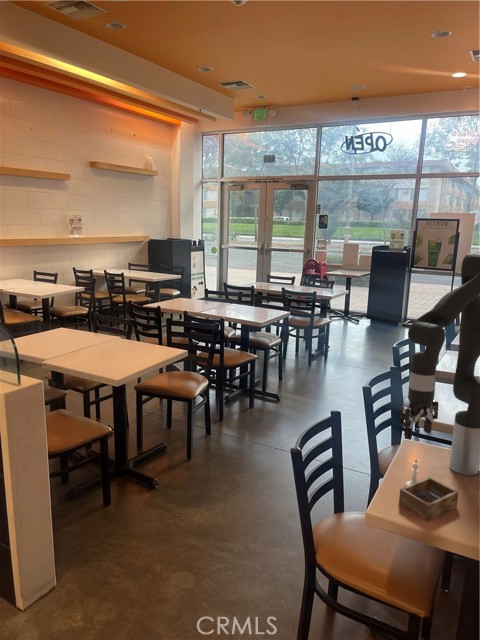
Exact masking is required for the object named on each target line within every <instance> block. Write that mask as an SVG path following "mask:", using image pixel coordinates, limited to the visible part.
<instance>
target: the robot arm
mask: <svg viewBox="0 0 480 640" xmlns="http://www.w3.org/2000/svg"><path fill="white" fill-rule="evenodd" d="M460 275H461V276H460V278H461V280H460V283H461V284H460V286H458V287H457V288H454V289H452V290H451V291H449V292H447V293H445V295H443V296H442V297H441V298H440V299H439V300H438V301H437V303H435V305H434V307H433V308H432V309H430V310H429V311H427V312H426V313H423V315H421V316H419V317H418V318H416V319H415V320H413V322H412V323H411V324H410V326H409V328H408V330H407V331H408V332H407V336H408V339H409V341H410V342H411V343H413V344H416V345H419V346H423V347H425V349H424V351H418V352H414V353H413V355H412V358H411V366H410V373H409V377H408V379H409V380H408V394H407V399H408V401H409V405H408V406H401V407H400V416H399V425H400V426H403V427H404V431H403V435H404V438H406V439H408V440H411V439H412V436H413V427H414V425H415V424H416V423H417V422H418V421H419V420H420V419H422V418H423V419H424V421H423V422H424V424H423V432H425V433H426V434H430V433H431V432H432V428H433V427H432V426H433V422H434V420H437V419H438V418H439V401H437V400H435V391H436V381H437V379H436V374H437V373H436V372H437V371H436V370H437V361H438V358H439V355H440V354H441V350H442V348H443V346H444V343H445V341H446V340H445V339H446V331H445V330H444V328H446V327H448V326H449V327H450V325H452V323H454V321H455V320H456V319H457V318H458V316H459V315H460V322H459V335H458V336H459V337H458V338H459V339H458V352H457V361H456V367H455V373H454V378H453V386H452V391H453V395H454V398H456V399H457V400H459V401H460V402H463V403H464V404H466V405H467V410H460V411H457V412H456V413H455V416H454V422H453V432H452V439H451V440H452V441H451V448H450V449H451V450H450V455H449V456H450V458H449V464H448V465H449V466H448V467H449V468H450V469H451V470H452V471H453V472H455V473H457V474H459V475H462V476H469V477H470V476H476V475H478V474H479V470H480V378H477V377H475V369H476V363H477V360H478V359H479V357H480V252H477V251H476V252H475V251H474V252H473V251H471V252H468V253H466V254H465V256H464V257H463V260H462V262H461V269H460Z"/></svg>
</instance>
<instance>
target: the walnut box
mask: <svg viewBox="0 0 480 640" xmlns="http://www.w3.org/2000/svg"><path fill="white" fill-rule="evenodd" d="M425 498H426V499H428V500H430V501H431V502H429V503H428V502H427V501H425V500H423V499H425ZM458 499H459V491H458V490H456V489H453V488H452V487H450V486H448V485H447V484H444V483H442V482H440V481H438V480H437V479H435V478H433V477H432V476H427V477H426V478H424V479H420V480H417V482H416V483H413V484H411V485H409V486H406V485H405V486H404V487H402V488H400V489H399V498H398V504H399V505H400V506H401V507H403V508H405V509H407V510H408V511H410V512H411V513H413V514H414V515H416V516H417V517H419V518H421V519H422V520H424V521H426V522H429V521H432V520H434V519H436V518H437V517H439V516H441V515H444V514H446V513H448V512H450V511H452V510H453V509H456V508H457V507H458Z"/></svg>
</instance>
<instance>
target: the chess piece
mask: <svg viewBox="0 0 480 640" xmlns="http://www.w3.org/2000/svg"><path fill="white" fill-rule="evenodd" d="M412 461H413V462H412V467H413V468H412V469H411V473H412V477H411V480H408V481H406V483H405V487H406V486H409V485H411V484H413V483H416V482H418V480H417V477H418V475H417V474H418V473H419V472H420V471H419V470H418V468H419V466H420V463H419V462H420V460H419V459H418V458H417V457H415V459H413V460H412Z"/></svg>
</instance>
